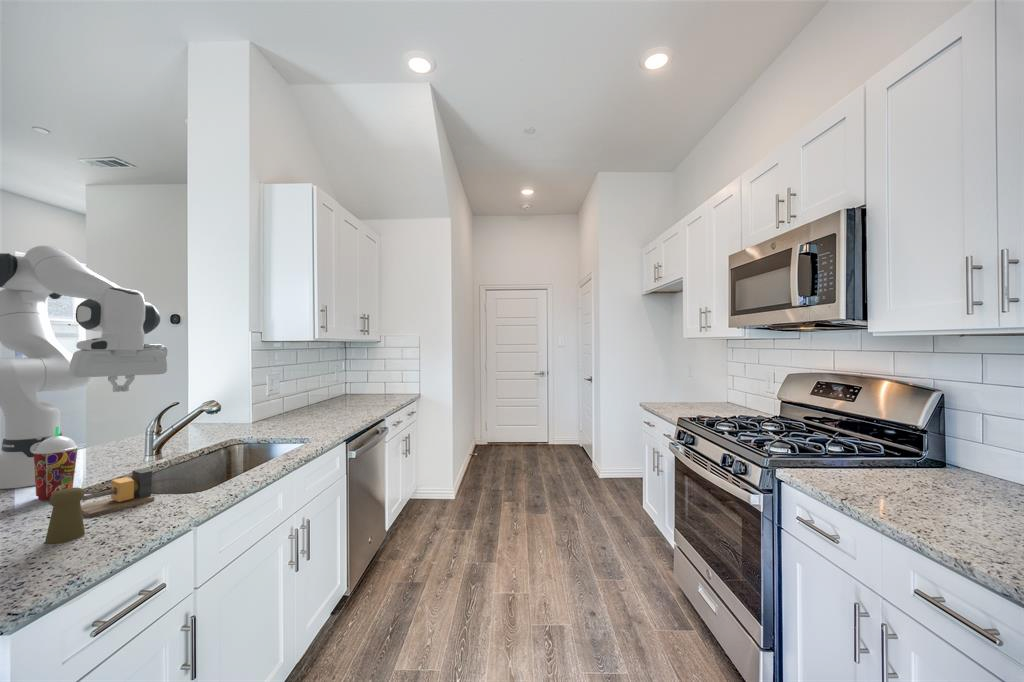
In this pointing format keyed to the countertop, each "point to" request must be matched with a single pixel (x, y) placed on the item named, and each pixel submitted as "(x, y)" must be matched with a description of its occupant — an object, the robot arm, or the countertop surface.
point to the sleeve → (123, 489)
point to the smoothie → (54, 465)
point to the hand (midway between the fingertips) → (120, 391)
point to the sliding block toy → (109, 505)
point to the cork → (65, 516)
